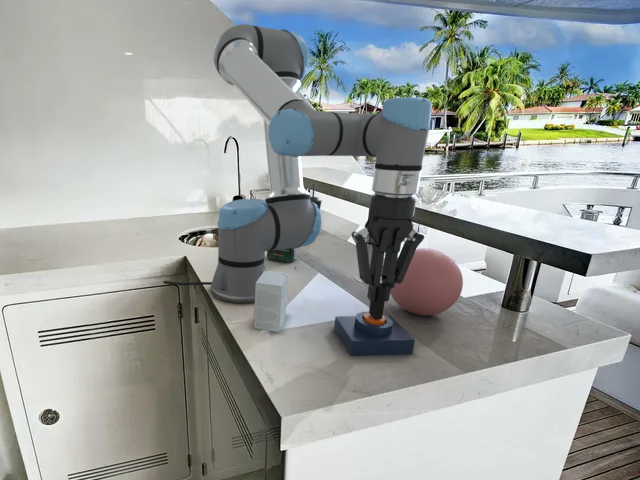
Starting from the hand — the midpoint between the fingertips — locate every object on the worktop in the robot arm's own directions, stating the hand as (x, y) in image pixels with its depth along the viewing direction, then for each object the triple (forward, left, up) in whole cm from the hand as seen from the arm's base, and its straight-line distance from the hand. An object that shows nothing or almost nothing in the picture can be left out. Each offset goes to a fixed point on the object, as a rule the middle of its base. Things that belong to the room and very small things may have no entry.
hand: (375, 315), depth 74 cm
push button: (0, 0, -6) cm, 6 cm away
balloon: (+15, +14, -6) cm, 21 cm away
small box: (-19, +9, -6) cm, 22 cm away
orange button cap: (0, 0, -2) cm, 2 cm away
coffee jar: (-8, +53, -6) cm, 54 cm away
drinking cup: (+11, +89, -6) cm, 90 cm away
